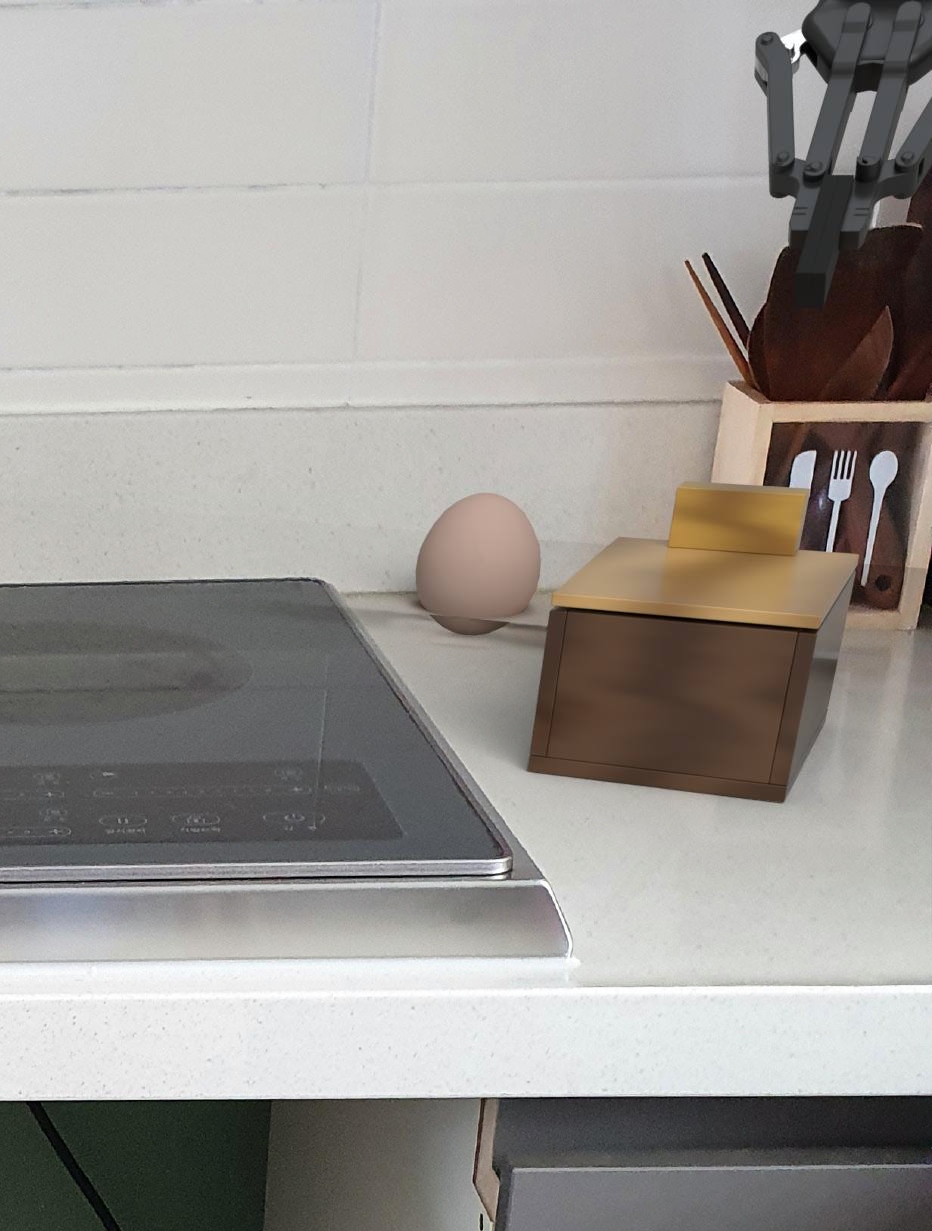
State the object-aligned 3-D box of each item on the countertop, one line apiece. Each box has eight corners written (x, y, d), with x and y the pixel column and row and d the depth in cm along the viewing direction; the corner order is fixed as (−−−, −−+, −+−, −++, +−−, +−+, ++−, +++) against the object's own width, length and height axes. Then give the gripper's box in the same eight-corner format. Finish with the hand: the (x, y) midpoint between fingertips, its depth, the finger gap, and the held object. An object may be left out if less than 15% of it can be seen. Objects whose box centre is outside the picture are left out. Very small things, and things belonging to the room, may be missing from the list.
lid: (857, 566, 105) (872, 492, 104) (818, 629, 93) (834, 547, 92) (616, 547, 111) (626, 477, 109) (550, 605, 99) (561, 527, 97)
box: (825, 722, 109) (856, 570, 105) (784, 803, 97) (817, 634, 93) (593, 697, 114) (615, 551, 111) (526, 771, 102) (549, 610, 99)
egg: (537, 625, 130) (556, 486, 126) (523, 651, 124) (543, 506, 120) (418, 617, 132) (434, 480, 129) (399, 642, 126) (415, 500, 123)
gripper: (1028, -2, 118) (937, 342, 113) (779, 7, 124) (681, 334, 119) (1048, -117, 112) (952, 242, 107) (784, -102, 118) (681, 239, 113)
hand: (809, 290), depth 113 cm, fingers closed
